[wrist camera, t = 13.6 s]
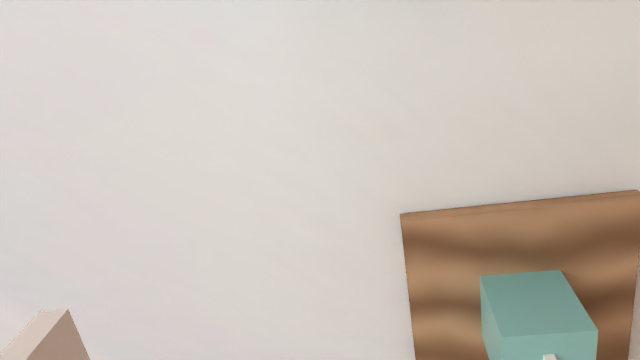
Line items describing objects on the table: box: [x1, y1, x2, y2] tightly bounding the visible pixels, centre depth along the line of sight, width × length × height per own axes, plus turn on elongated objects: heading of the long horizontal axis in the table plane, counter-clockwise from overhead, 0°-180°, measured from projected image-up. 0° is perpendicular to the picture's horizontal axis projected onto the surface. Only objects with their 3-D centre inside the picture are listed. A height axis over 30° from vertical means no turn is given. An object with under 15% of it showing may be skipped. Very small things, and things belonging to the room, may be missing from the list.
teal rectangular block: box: [480, 270, 598, 360], centre depth 43 cm, size 7×7×9 cm
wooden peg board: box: [400, 190, 640, 360], centre depth 45 cm, size 20×20×7 cm
